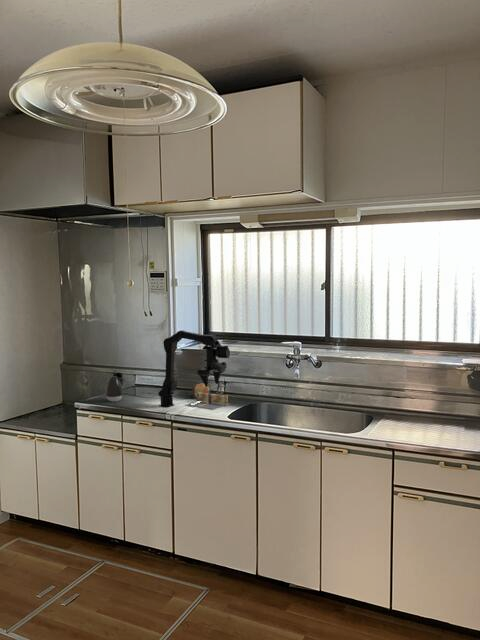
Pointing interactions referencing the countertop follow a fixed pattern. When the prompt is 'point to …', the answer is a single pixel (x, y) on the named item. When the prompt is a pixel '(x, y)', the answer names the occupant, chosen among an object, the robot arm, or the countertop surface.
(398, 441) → the countertop surface
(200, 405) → the card
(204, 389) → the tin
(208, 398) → the fence fixed
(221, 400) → the fence gate
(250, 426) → the countertop surface
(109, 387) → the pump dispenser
